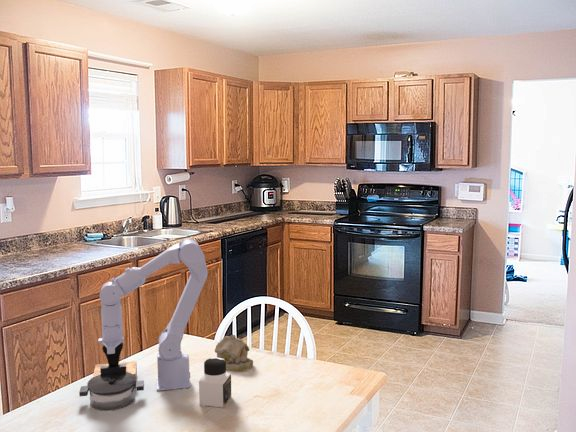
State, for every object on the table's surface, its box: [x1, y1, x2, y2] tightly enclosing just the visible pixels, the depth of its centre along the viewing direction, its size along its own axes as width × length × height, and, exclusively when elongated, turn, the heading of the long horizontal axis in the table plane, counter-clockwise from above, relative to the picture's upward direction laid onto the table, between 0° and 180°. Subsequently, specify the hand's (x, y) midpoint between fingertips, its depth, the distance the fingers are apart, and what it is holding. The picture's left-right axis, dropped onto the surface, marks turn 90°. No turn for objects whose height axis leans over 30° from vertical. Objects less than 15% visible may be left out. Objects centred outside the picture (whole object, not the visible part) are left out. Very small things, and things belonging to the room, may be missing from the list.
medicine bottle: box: [198, 356, 232, 408], centre depth 154 cm, size 7×7×12 cm
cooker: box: [78, 360, 145, 412], centre depth 160 cm, size 17×22×4 cm
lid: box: [86, 364, 137, 395], centre depth 154 cm, size 13×13×3 cm
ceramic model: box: [214, 334, 254, 373], centre depth 181 cm, size 14×11×10 cm
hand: (113, 368), depth 161 cm, fingers closed
